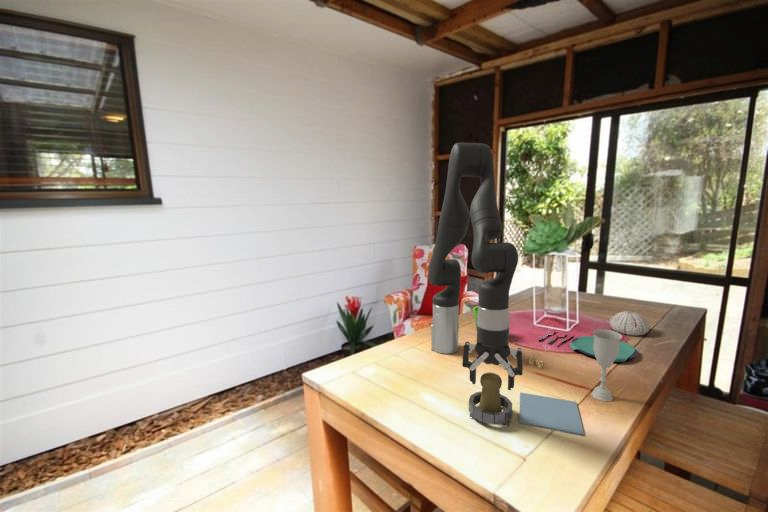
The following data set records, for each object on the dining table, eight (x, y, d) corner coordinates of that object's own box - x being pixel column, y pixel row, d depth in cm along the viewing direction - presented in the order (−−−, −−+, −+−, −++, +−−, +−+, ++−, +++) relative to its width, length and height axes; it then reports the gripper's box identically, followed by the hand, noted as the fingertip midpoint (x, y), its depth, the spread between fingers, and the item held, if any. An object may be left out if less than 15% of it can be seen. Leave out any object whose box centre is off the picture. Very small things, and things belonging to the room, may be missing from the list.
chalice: (616, 406, 93) (622, 341, 90) (587, 399, 97) (591, 336, 94) (616, 393, 99) (621, 332, 96) (588, 386, 103) (592, 327, 100)
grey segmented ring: (466, 422, 88) (466, 409, 87) (472, 400, 98) (472, 388, 97) (510, 431, 84) (511, 418, 84) (512, 407, 94) (512, 395, 93)
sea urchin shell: (654, 332, 142) (656, 313, 140) (640, 340, 134) (642, 320, 133) (618, 323, 153) (619, 305, 151) (602, 330, 145) (604, 311, 144)
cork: (503, 423, 87) (505, 382, 86) (478, 421, 89) (479, 380, 87) (501, 409, 93) (502, 370, 91) (477, 407, 94) (478, 368, 93)
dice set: (541, 370, 114) (541, 364, 114) (525, 365, 118) (525, 360, 118) (546, 364, 118) (547, 359, 118) (531, 360, 122) (531, 355, 121)
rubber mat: (519, 423, 87) (519, 421, 87) (520, 393, 100) (520, 392, 100) (583, 435, 82) (584, 434, 82) (576, 403, 95) (576, 401, 95)
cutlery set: (626, 370, 112) (627, 363, 112) (533, 344, 135) (534, 338, 134) (643, 351, 125) (644, 345, 125) (556, 330, 148) (556, 325, 147)
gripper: (461, 326, 86) (460, 388, 89) (524, 332, 81) (521, 398, 83) (465, 316, 93) (465, 374, 95) (524, 321, 88) (522, 383, 90)
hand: (491, 385), depth 89 cm, fingers open, 8 cm apart
